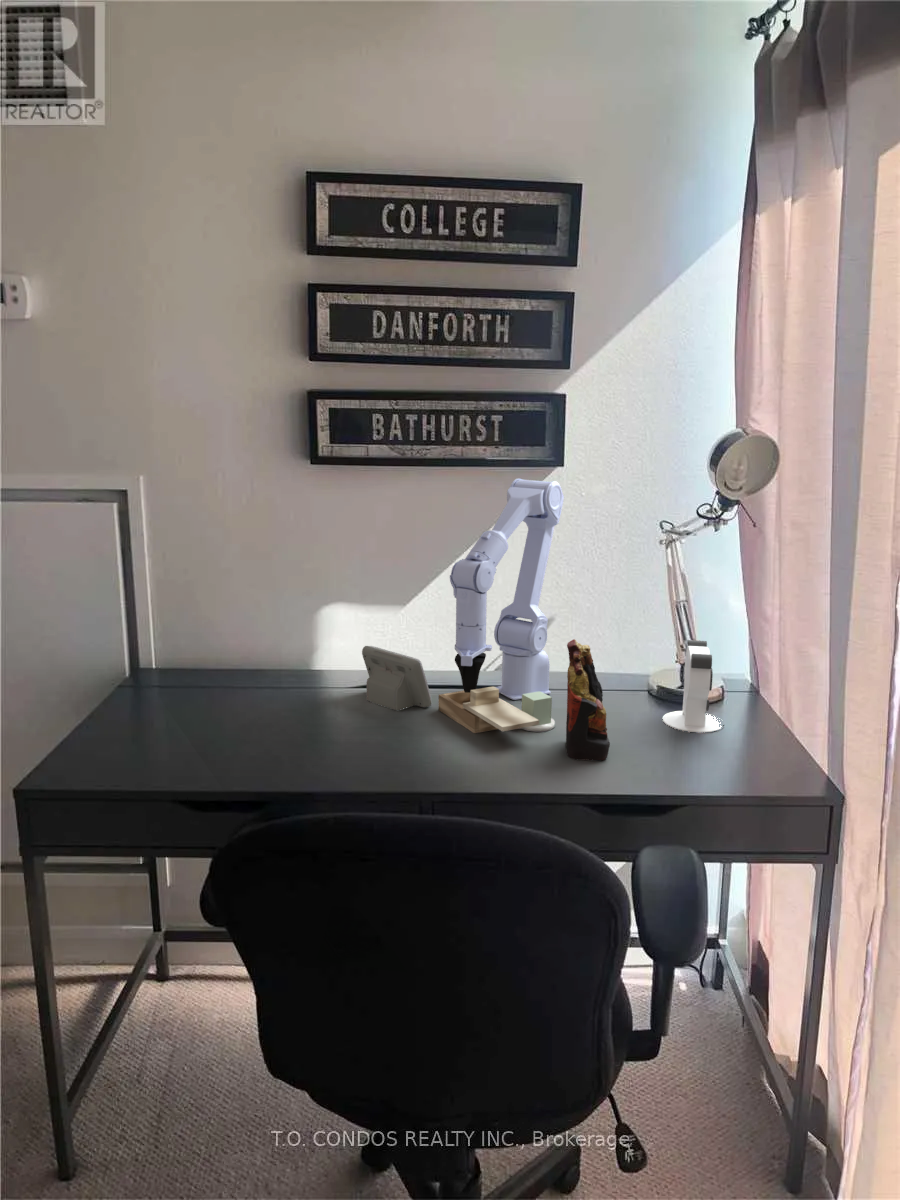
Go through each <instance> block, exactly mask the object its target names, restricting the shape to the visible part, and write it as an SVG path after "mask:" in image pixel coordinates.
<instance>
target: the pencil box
mask: <svg viewBox="0 0 900 1200" xmlns="http://www.w3.org/2000/svg"><path fill="white" fill-rule="evenodd" d="M467 702H470V693H467V692H464V690H460V691H454V692H447V693H439V694H438V711H439V712H440V713H442V714H443V715H445V714H446V715H445V716H446V717H448V718H450V719H451V720H453V721H454V722H455V723H457V724H459V725H461V726H462V727H464V728H465V729H467V730H468V731H470V732H471V733H473V734H479V733H485V732H488V731H494V730H499V729H498V728H496V727H494V726H493V725H491V724H489V723H488V722H486V721H484V720H483V719H481V718H480V717H478V716H476V715H475V714H473V713H471V712H470V711H468V710H466V709H465V708H463V703H467Z"/></svg>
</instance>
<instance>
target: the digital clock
mask: <svg viewBox="0 0 900 1200" xmlns="http://www.w3.org/2000/svg"><path fill="white" fill-rule="evenodd" d="M361 655H362V658H363V661H364V665H365V668H366V670H367V674H368V678H367V680H366V701H367V700H368V701H367V702H369V701H371V702H370V703H372V702H373V703H372V704H375V703H376V704H375V705H378V704H379V705H378V706H381V705H382V706H381V707H384V706H385V707H384V708H387V707H388V708H387V709H390V708H391V709H390V710H393V709H394V710H393V711H396V710H400V709H403V708H406V707H408V708H411V707H414V706H417V707H421V708H428V707H431V706H432V695H431V692H430V689H429V684H428V681H427V678H426V673H425V670H424V667H423V663H422V661H421V660H420V659H419V658H416V657H413V656H409V655H406V654H402V653H398V652H395V651H391V650H389V649H386V648H385V649H384V648H380V647H377V646H373V645H364V646H363V648H362V650H361ZM413 705H414V706H413ZM410 706H411V707H410ZM406 709H407V708H406ZM403 710H404V709H403ZM400 711H401V710H400Z"/></svg>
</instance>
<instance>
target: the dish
mask: <svg viewBox="0 0 900 1200" xmlns="http://www.w3.org/2000/svg"><path fill="white" fill-rule="evenodd" d="M555 725H556V721H555V719H554V718H552V717H551V723H548V724H542V725H537V726H529V727H524V728H520V729H521V730H523V731H527V732H532V733H533V732H534V733H535V732H536V733H542V732H549V731H552V730H554V729H555V727H556V726H555Z"/></svg>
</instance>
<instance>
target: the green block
mask: <svg viewBox="0 0 900 1200" xmlns="http://www.w3.org/2000/svg"><path fill="white" fill-rule="evenodd" d="M552 704H553V696H550V695H549V694H544V693H542V692H540V691H538V692H532V693H526V694H522V699H521V710H522V711H523V712H525V713H527V714H529V715H531V716H532V717H534V718H536V719H538V720H539V725H542V724H548V723H551V718H552V709H553V708H552ZM534 726H537V725H534Z"/></svg>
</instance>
